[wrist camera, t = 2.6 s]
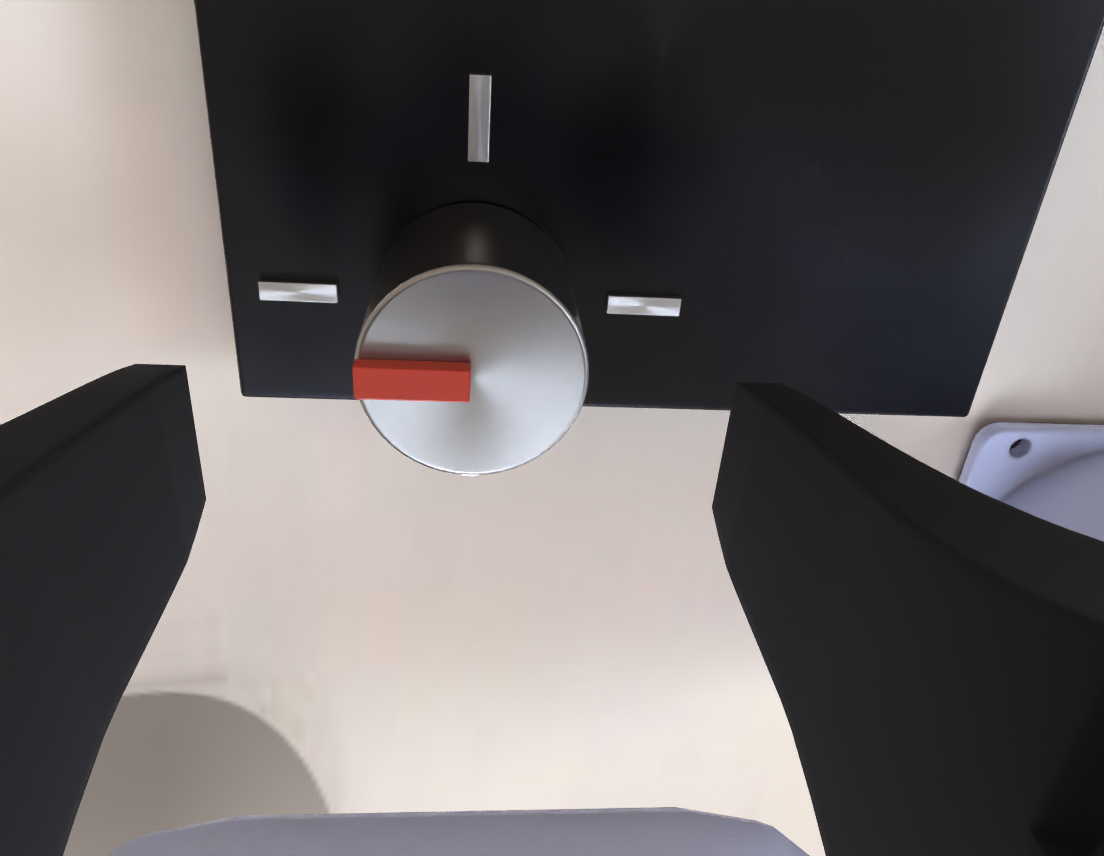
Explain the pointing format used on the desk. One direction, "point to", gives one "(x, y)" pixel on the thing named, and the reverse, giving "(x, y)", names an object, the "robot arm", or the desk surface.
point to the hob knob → (472, 342)
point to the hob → (653, 178)
